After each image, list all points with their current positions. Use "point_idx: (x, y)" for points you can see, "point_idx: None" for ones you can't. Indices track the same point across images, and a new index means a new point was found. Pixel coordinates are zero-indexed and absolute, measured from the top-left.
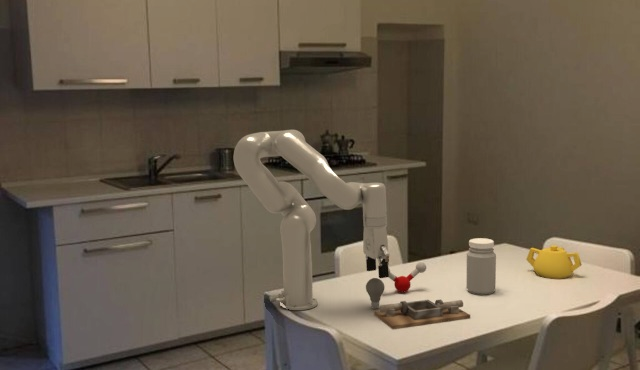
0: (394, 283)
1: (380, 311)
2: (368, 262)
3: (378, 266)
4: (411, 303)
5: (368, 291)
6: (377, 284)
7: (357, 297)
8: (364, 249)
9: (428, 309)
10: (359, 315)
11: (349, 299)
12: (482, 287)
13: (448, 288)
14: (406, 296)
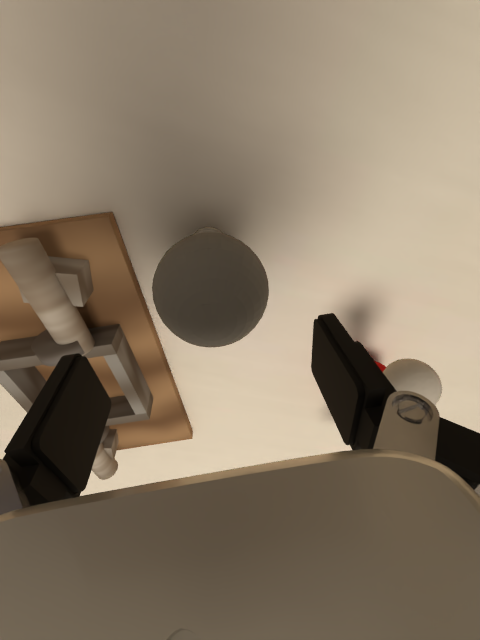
0: (382, 370)
1: (34, 238)
2: (345, 376)
3: (21, 442)
4: (114, 373)
5: (184, 238)
6: (160, 311)
7: (388, 205)
8: (427, 558)
9: (27, 403)
10: (108, 129)
11: (384, 154)
12: None
13: (321, 450)
14: (306, 367)
